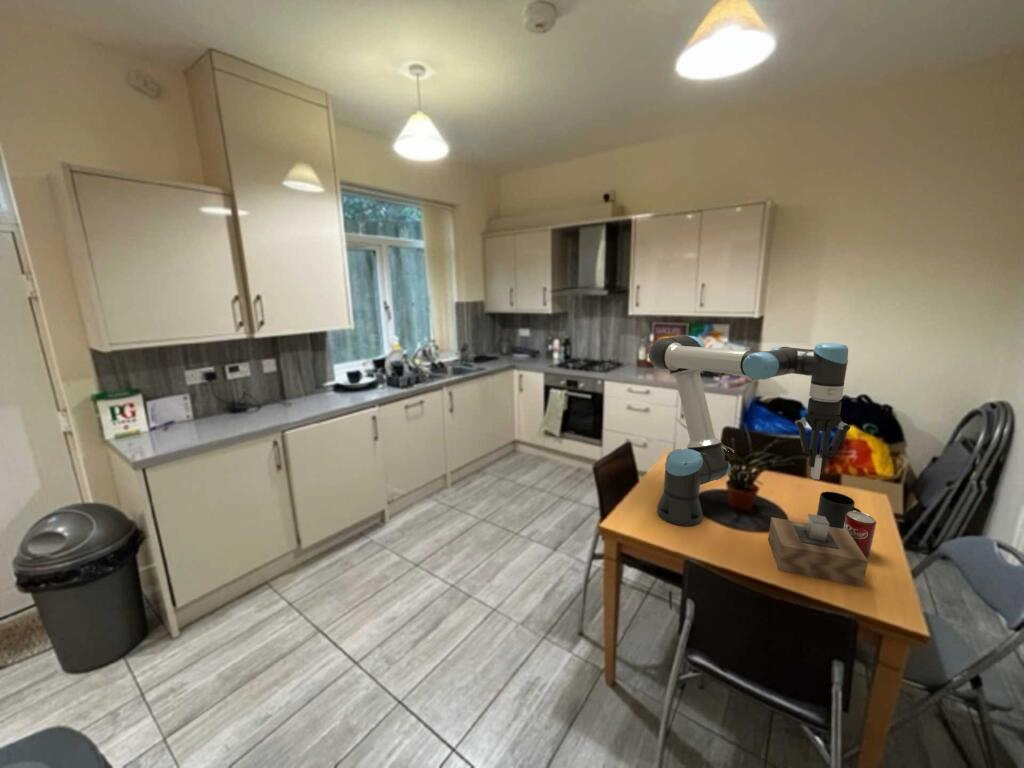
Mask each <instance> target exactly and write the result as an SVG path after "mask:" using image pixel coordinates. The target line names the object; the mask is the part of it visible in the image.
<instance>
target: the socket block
mask: <svg viewBox="0 0 1024 768" xmlns="http://www.w3.org/2000/svg"><path fill="white" fill-rule="evenodd" d="M806 528H807V522H803V521H797V520H790V519H786V518H779V517H772V516H771V518H770V523H769V530H768V538H767V541H768V544H769V546H770V550H771V552H772V556H773V558H774V561H775V564H776V567H777V570H778V571H782V572H783V571H784V572H788V573H793V574H798V575H803V576H807V577H812V578H818V579H824V580H826V581H831V582H832V581H833V582H839V583H842V584H843V583H844V584H847V585H852V586H853V585H854V586H858V587H864V586H863V585H864V583H865V577H866V572H867V569H868V568H867V567H868V563H869V560H868V559H867V557H865V556H864V554H863V553H862V551H861V550H860V548H859V547H858V545H857V544H856V542H855V541H854V539H853V538H852V536H851V535H850V533H849V532H848V530H847V529H841V528H835V527H830V526H829V527H828V533H827V538H826V542H821V541H815V540H809V539H808V538H807V536H806Z"/></svg>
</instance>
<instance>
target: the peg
mask: <svg viewBox="0 0 1024 768" xmlns="http://www.w3.org/2000/svg"><path fill="white" fill-rule="evenodd" d="M807 516H808V517H807V522H806V523H807V528H806V536H807V538H808V539H809V540H815V541H821V542H826V538H827V533H828V527H830V526H829V522H828V521H827V519H826V517H825V516H818V515H817V514H810V513H808V515H807Z"/></svg>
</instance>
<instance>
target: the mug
mask: <svg viewBox="0 0 1024 768" xmlns="http://www.w3.org/2000/svg"><path fill="white" fill-rule="evenodd" d="M850 511H857V512H862V511H861V510H860V509H859V508H856V507H855V500H854V499H853V498H851V497H850V496H848V495H846V494H843V493H839V492H835V491H823V492H821V493H820V494H819V500H818V506H817V512H816V515H818V516H825V517H826V519H827V521H828V522H829V527H835V528H841V529H843V526H844V520H845V515H846V513H848V512H850Z"/></svg>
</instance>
